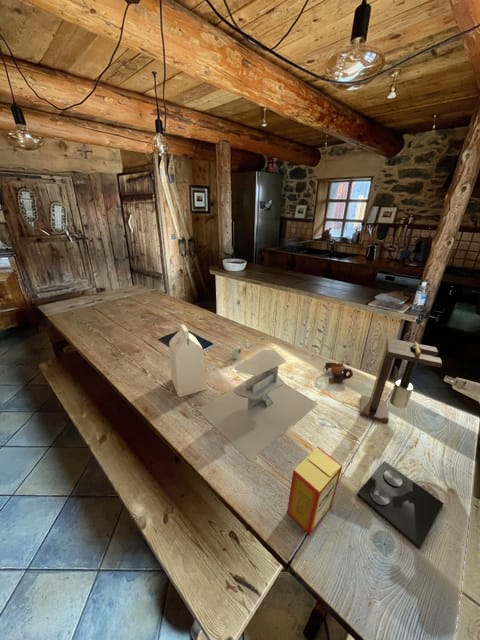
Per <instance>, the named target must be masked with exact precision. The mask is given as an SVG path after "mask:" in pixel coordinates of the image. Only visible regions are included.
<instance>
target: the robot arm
mask: <svg viewBox="0 0 480 640" xmlns="http://www.w3.org/2000/svg"><path fill="white" fill-rule="evenodd" d="M443 381H444V382H445V383H448V384H450V385H451V387H452V389H453V390H454V391H457V392H459V393H461V394H463V395H465V396H467V397H469V398H470V399H473V400H475V401H476V402H478V404H479V405H480V383H479V382H475V381H472V380H469V379H466V378H465V379H464V378H461V377H456V378H454V377H452V376H449V375H445V376H444V378H443Z"/></svg>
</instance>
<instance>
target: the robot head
mask: <svg viewBox="0 0 480 640" xmlns="http://www.w3.org/2000/svg"><path fill="white" fill-rule="evenodd" d="M241 352H242V349H241V346H240V345H234V346H233V347H232V349H231V351H230V353H229V354H230V355H231V356H232V358H233V359H235V360H236V359H238V358H239V357H240V355H241V354H242V353H241Z"/></svg>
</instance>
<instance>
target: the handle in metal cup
mask: <svg viewBox="0 0 480 640" xmlns="http://www.w3.org/2000/svg"><path fill="white" fill-rule="evenodd" d="M413 343H414V345H413V347H412V350H411V352H415V353H416V355H417V356H420V355H421V354H422V353H421V351H422V347H420V346H419V345H418V344H419V343H418V341H414V342H413ZM406 361H407V363H406V365H405V368H404V371H403V372H402V373H403V374H402V376H401V379H397V380H396V381H395V382H394V386H393V387H392V391H391V395H390V398H389V403H390V404H391V405H392V406H393V407H395V408H398V409H406V408H407V406H408V404H409V400H410V398H411V395H412V393H413V390H414V386H413V384H412V383H411V382H412V378H413V376H414V373H415V371H416V368H417V365H418V362H413V361H409V360H406Z"/></svg>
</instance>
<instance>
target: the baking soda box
mask: <svg viewBox="0 0 480 640" xmlns="http://www.w3.org/2000/svg"><path fill="white" fill-rule="evenodd" d="M342 469H343V464H341V462H339V461H338V460H336V459H335V458H334V457H332V456H331V455H330V454H329V453H327V452H326V451H325V450H323V449H322V448H320V447H319V446H317V447H315V449H313V450H312V451H311V453H309V455H307V457H305V459H304V460H302V462H300V463H299V464H298V465H297V466H296V467H295V468H294V469H293V471H292V476H291V483H290V490H289V497H288V503H287V509H286V513H287V514H288V515H289V516H290V517H291V518H292V520H293V521H294V522H296V524H297V525H298V526H299V527H300V528H301V529H302V530H303V531H304V532H305V533H306V534H307V535H308V536H310V535H311V534H312V532H314V530H315V529H316V528H317V526H318V525H319V523H320V522H321V521H322V519H323V518H324V517H325V516H326V515H327V513H328V512H329V511H330V509H331V508H332V506H333V501H334V498H335V494H336V492H337V487H338V483H339V480H340V477H341V472H342Z"/></svg>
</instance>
